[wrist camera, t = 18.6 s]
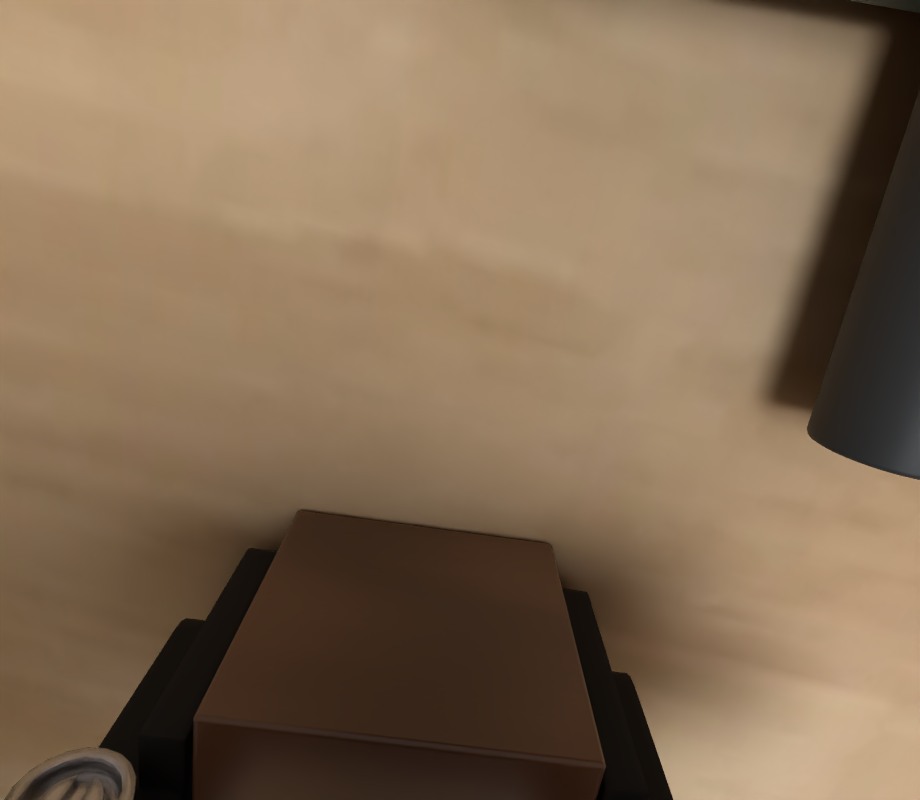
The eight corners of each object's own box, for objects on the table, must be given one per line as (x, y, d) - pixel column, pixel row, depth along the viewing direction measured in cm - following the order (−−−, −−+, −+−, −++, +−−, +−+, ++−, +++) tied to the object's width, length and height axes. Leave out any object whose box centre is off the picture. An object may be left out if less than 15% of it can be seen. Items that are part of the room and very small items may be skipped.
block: (283, 709, 12) (187, 988, 8) (297, 509, 11) (190, 718, 6) (508, 736, 12) (531, 1022, 8) (552, 542, 11) (609, 767, 7)
